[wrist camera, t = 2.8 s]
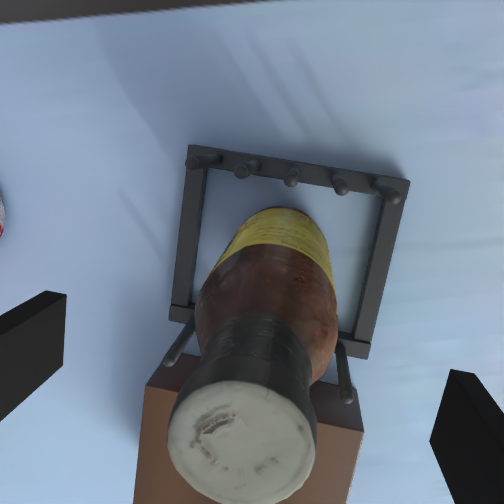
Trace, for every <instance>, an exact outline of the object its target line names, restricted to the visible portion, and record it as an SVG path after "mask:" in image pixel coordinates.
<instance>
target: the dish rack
mask: <svg viewBox="0 0 504 504" xmlns="http://www.w3.org/2000/svg"><path fill="white" fill-rule="evenodd" d="M185 166H186V177H185V185H184V194H183V203H182V212H181V220H180V229H179V238H178V246H177V255H176V264H175V273H174V281H173V290H172V299H171V305H170V311H169V321H174V322H179V323H184V324H186V326H185V327H184V329H183V330H182V332H181V333H180V334H179V336H178V337H177V339H176V340H175V342H174V343H173V345H172V346H171V347H170V349H169V350H168V352H167V353H166V355H165V356H164V358H163V364H164V365H165V366H166V367H171V366H173V365H174V364H175V362H176V360H177V359H178V357H179V356H180V354H181V352H182V351H183V349H184V347H185V346H186V344H187V343H188V341H189V339H190V338H191V336H192V335H193V333H194V331H195V325H194V312H195V305H196V304H195V303H190V302H191V297H192V289H193V281H194V273H195V265H196V257H197V249H198V242H199V234H200V226H201V218H202V210H203V202H204V194H205V186H206V178H207V170H208V167H210V168H216V169H222V170H228V171H234V174H235V176H236V177H237V178H239V179H243V178H245V177H247V176H249V175H251V174H252V175H258V176H264V177H270V178H276V179H282V180H284V183H285V185H286V186H288V187H294V186H296V185H297V183H298V182H300V183H306V184H312V185H318V186H324V187H330V188H334V190H335V192H336V193H337V194H338V195H340V196H343V195H346V194H347V193H348V191H354V192H360V193H366V194H372V195H378V196H381V197H382V198H383V201H382V205H381V210H380V214H379V218H378V223H377V227H376V232H375V236H374V240H373V245H372V249H371V253H370V258H369V262H368V267H367V271H366V275H365V280H364V284H363V288H362V293H361V297H360V302H359V306H358V310H357V315H356V319H355V324H354V328H353V332H352V334H349V333H344V332H339V331H338V337H337V342H336V346H335V352H334V353H335V354H336V363H337V372H338V381H339V390H340V398H341V401H342V402H343V403H345V404H350V403H352V401H353V399H354V397H353V391H352V385H351V379H350V373H349V367H348V361H347V356H350V357H355V358H360V359H365V360H367V359H368V355H369V351H370V347H371V343H370V342H371V340H372V336H373V332H374V328H375V324H376V319H377V315H378V311H379V307H380V303H381V299H382V295H383V290H384V286H385V282H386V278H387V274H388V270H389V266H390V261H391V257H392V253H393V249H394V245H395V241H396V237H397V232H398V228H399V224H400V220H401V216H402V212H403V207H404V203H405V200H406V198H407V194H408V190H409V186H410V181H409V180H407V179H402V178H396V177H389V176H383V175H377V174H371V173H365V172H359V171H353V170H346V169H340V168H334V167H328V166H322V165H316V164H310V163H303V162H297V161H291V160H285V159H279V158H273V157H267V156H260V155H254V154H248V153H242V152H236V151H230V150H224V149H217V148H211V147H205V146H199V145H188V153H187V159H186V161H185Z"/></svg>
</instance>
